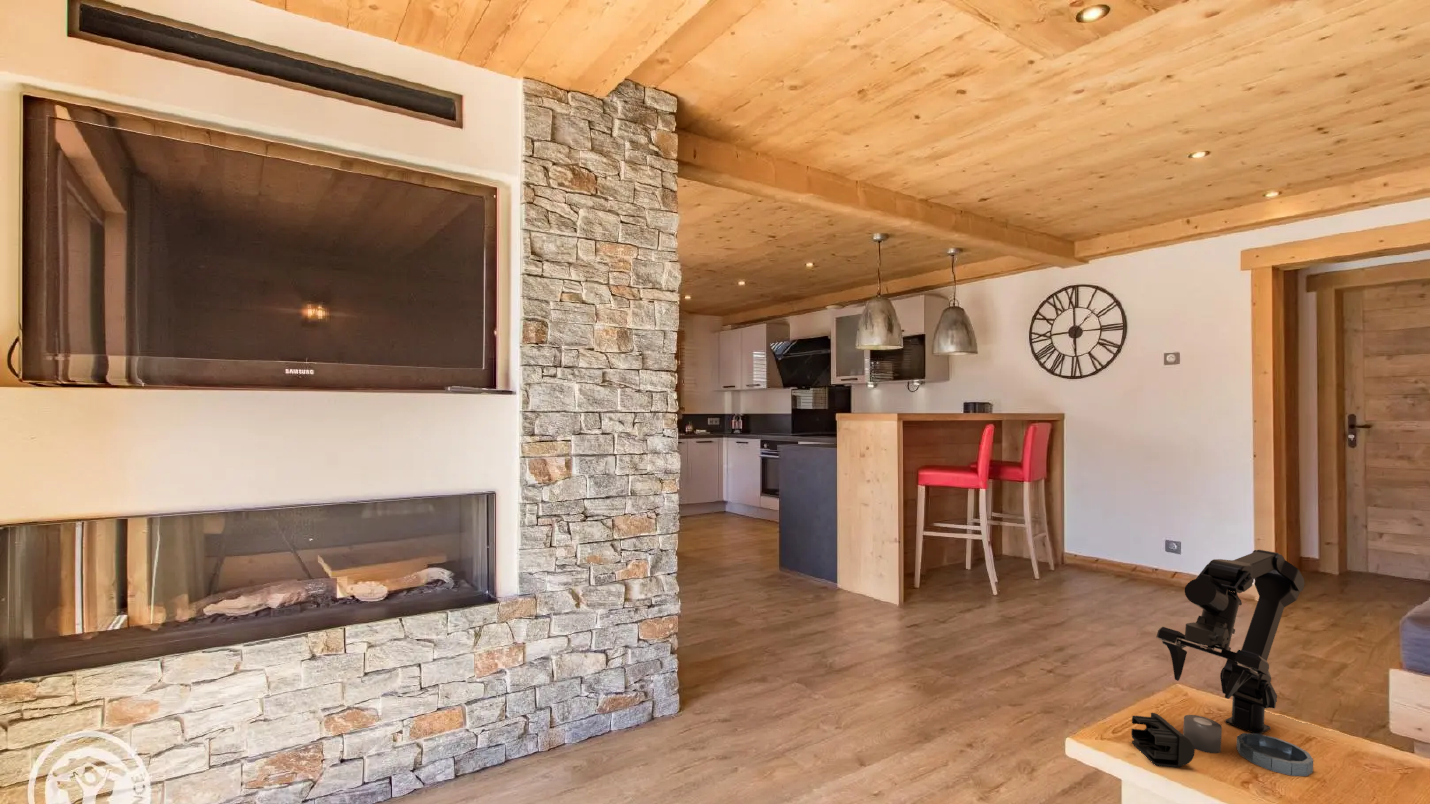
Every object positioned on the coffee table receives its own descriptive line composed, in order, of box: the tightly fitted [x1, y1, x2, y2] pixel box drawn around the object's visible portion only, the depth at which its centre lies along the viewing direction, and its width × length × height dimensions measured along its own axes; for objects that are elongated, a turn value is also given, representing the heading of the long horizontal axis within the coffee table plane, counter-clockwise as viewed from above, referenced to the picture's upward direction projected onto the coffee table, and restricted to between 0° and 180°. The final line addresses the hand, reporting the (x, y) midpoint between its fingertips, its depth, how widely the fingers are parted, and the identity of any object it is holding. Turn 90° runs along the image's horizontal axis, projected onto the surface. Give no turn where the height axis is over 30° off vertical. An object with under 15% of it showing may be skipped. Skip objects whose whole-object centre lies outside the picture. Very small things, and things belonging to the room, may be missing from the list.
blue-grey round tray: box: [1236, 732, 1314, 777], centre depth 134 cm, size 12×12×2 cm
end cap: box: [1130, 712, 1196, 769], centre depth 134 cm, size 10×7×7 cm
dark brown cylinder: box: [1182, 714, 1223, 754], centre depth 139 cm, size 6×6×5 cm
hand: (1200, 689), depth 138 cm, fingers open, 9 cm apart
